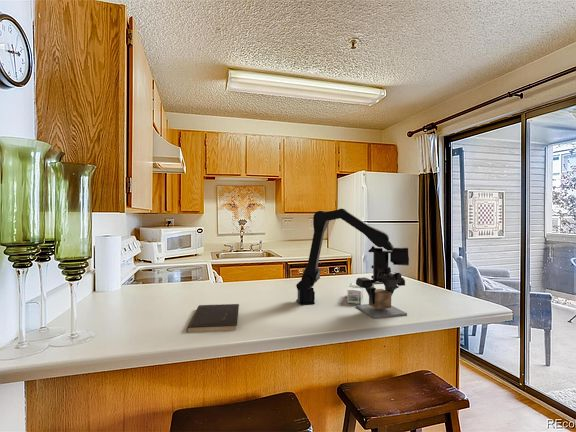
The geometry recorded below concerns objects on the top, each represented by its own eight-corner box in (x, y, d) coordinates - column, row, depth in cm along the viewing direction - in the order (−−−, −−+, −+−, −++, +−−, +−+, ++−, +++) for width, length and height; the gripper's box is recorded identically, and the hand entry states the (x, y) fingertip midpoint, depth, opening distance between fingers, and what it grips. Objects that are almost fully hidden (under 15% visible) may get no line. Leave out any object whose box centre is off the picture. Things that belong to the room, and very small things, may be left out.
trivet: (374, 318, 112) (374, 316, 112) (355, 307, 125) (355, 305, 125) (407, 315, 115) (407, 313, 115) (385, 304, 129) (385, 302, 129)
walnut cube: (378, 309, 117) (378, 293, 116) (368, 304, 122) (369, 289, 122) (391, 307, 119) (391, 292, 119) (381, 303, 124) (381, 288, 124)
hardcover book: (239, 309, 123) (239, 303, 123) (236, 331, 100) (236, 324, 100) (198, 311, 121) (198, 305, 121) (186, 334, 98) (186, 326, 98)
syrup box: (350, 294, 144) (347, 303, 130) (350, 282, 144) (347, 290, 130) (363, 295, 142) (361, 305, 128) (363, 282, 142) (361, 291, 128)
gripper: (370, 268, 110) (369, 311, 110) (414, 266, 115) (414, 308, 115) (355, 263, 120) (355, 302, 121) (396, 261, 125) (396, 299, 126)
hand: (380, 303), depth 120 cm, fingers closed on walnut cube, 6 cm apart
